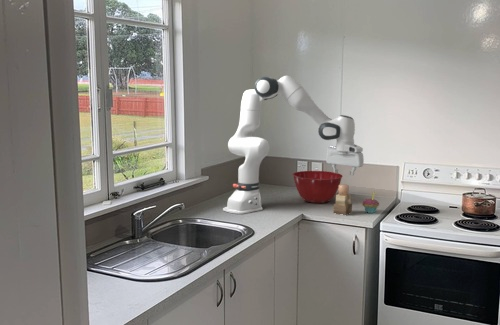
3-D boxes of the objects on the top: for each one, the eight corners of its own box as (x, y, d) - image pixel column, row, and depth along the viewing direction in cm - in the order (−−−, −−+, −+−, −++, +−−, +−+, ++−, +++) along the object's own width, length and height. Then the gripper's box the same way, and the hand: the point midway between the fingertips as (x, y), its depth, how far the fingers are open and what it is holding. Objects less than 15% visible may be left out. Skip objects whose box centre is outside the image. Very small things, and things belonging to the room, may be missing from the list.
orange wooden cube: (345, 196, 265) (345, 186, 264) (336, 194, 268) (336, 185, 267) (350, 194, 269) (350, 185, 268) (341, 193, 272) (341, 183, 271)
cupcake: (380, 211, 273) (381, 189, 271) (375, 215, 266) (376, 192, 264) (365, 209, 278) (366, 187, 276) (359, 212, 271) (360, 190, 269)
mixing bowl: (319, 193, 318) (319, 168, 315) (352, 202, 294) (353, 175, 292) (282, 198, 302) (282, 173, 300) (314, 208, 279) (314, 180, 276)
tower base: (345, 215, 265) (345, 206, 264) (333, 213, 269) (333, 204, 268) (351, 213, 270) (352, 203, 270) (340, 211, 275) (340, 201, 274)
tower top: (344, 205, 265) (344, 196, 264) (335, 204, 269) (335, 194, 268) (350, 204, 269) (350, 194, 268) (341, 202, 273) (341, 193, 272)
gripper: (324, 145, 268) (323, 172, 270) (359, 149, 255) (358, 177, 257) (330, 145, 273) (329, 171, 274) (365, 148, 260) (364, 175, 261)
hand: (343, 174), depth 265 cm, fingers open, 8 cm apart
